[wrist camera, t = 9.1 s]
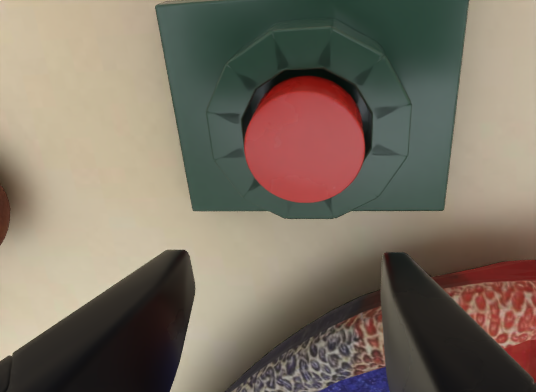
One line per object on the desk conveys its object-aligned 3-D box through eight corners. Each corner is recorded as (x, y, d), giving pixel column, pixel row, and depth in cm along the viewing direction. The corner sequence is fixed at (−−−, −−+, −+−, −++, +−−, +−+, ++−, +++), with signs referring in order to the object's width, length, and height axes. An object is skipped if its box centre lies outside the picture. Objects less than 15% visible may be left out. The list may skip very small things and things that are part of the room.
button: (363, 72, 14) (366, 88, 12) (361, 178, 16) (364, 203, 14) (247, 78, 15) (237, 93, 13) (258, 179, 16) (249, 203, 15)
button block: (462, -22, 15) (489, -14, 12) (438, 196, 19) (454, 238, 16) (165, 1, 16) (132, 12, 14) (199, 198, 20) (179, 236, 17)
